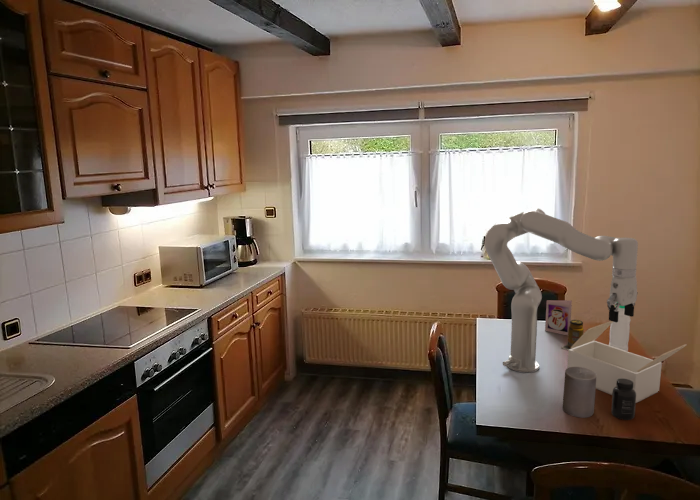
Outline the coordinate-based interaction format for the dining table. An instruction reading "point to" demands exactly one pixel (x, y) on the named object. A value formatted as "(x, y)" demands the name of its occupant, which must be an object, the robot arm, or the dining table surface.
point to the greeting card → (558, 316)
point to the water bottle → (620, 330)
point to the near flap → (662, 357)
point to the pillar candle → (579, 392)
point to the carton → (616, 368)
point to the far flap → (591, 334)
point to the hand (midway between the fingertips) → (621, 318)
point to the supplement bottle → (623, 400)
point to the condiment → (574, 333)
